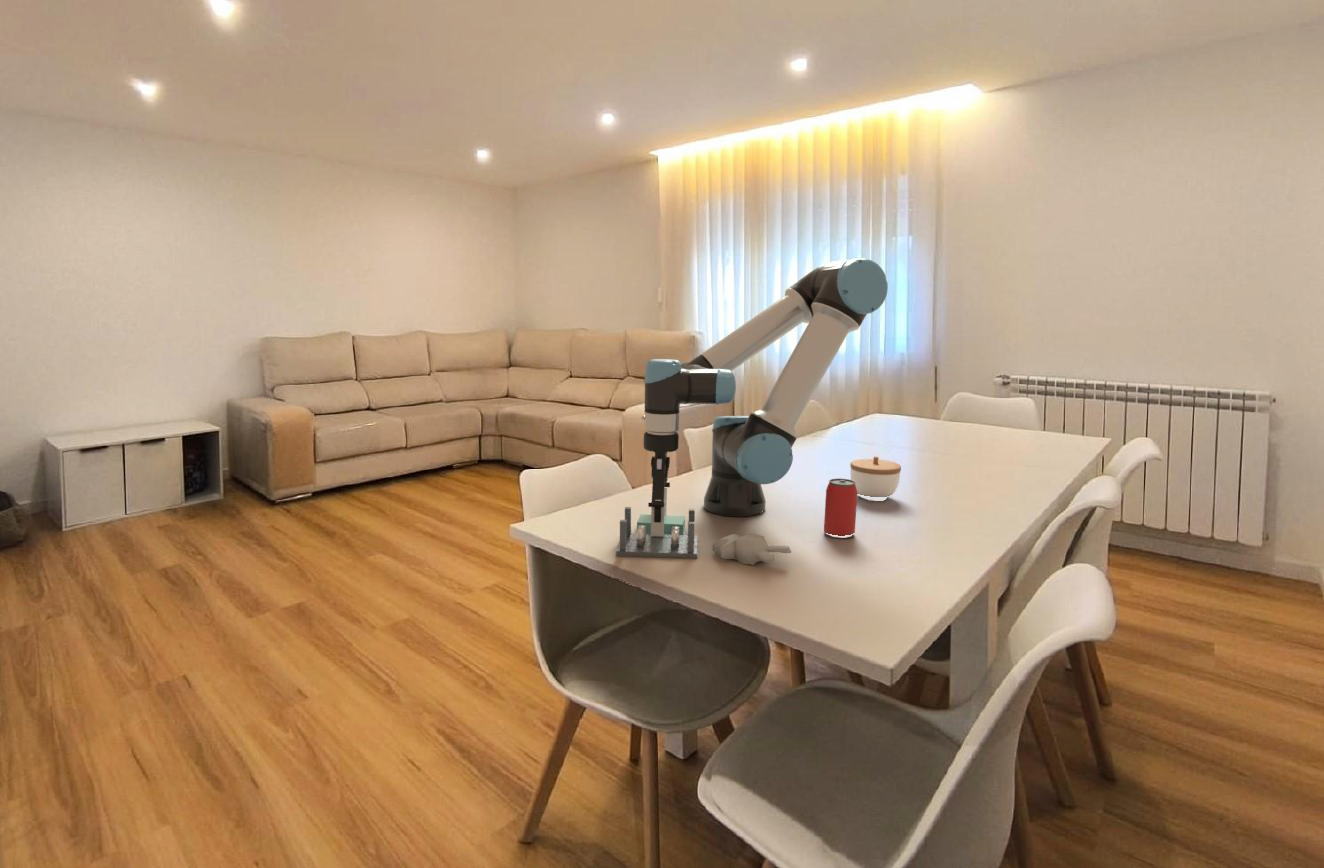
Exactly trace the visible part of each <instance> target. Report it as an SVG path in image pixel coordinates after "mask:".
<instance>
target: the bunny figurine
mask: <svg viewBox="0 0 1324 868" xmlns="http://www.w3.org/2000/svg"><path fill="white" fill-rule="evenodd" d="M711 545H712V551H715V553H716V554H717V556H718V557H720V558H721V559H723V560H724V559H725V560H727V559H728V560H736V561H737V562H738V563H740V564H743V565H749V564H750V565H749V566H754V565H755V564H756V563H758V562H759V561H761V562H765V563H771V562H774V560H775V557H776V554H775V553H778V554H779V553H780V554H790V553H792V551H791V548H790V547H791V546H789V545H769V544H768V542H767V540H766V538H765V536H764V535H761V534H757V533H749V534H747V535H738V534H737V533H732V534H728V535H726V536H723V537H722V538H721V537H720V538H718V539H717V540H715V541H712V542H711Z"/></svg>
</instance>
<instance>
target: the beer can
mask: <svg viewBox="0 0 1324 868" xmlns="http://www.w3.org/2000/svg"><path fill="white" fill-rule="evenodd" d="M855 484H856V483H855V482H854V481H852V480H851V479H847V478H841V477H840V478H831V479H829V480H828V485H827V486H826V489H825V504H824V505H825V506H824V520H823V532H824V534H825V533H828V534H832V535H838V536H845V535H851V534H853V533H856V521H857V520H856V519H857V505H858V494H857V489H856V486H855Z"/></svg>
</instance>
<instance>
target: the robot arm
mask: <svg viewBox="0 0 1324 868" xmlns="http://www.w3.org/2000/svg"><path fill="white" fill-rule="evenodd" d="M888 284H889V283H888V281H887V276H886V273H885V271H884V270H883V269H882V267H881V266H880V265H879V264H877V263H876V261H873V260H871V259H870V258H869V259H868V258H860V257H852V258H849V259H847V260H846V259H845V260H844V259H843V260H836V261H835V260H834V261H829V262H824V263H823V264H821V265H819V266H818V267H817V266H816V268H815V269H813V270H812V271H810V272H809V273H807V274H805V275H804V276H803V277H802V278H801V279H799V280H797V282H795V283H794V284H792V285H791V286H790V287H788V288H787V289H785V291H784V295H783V297H781V298H780V299H778V300H777V301H775V302H774V303H773V304H771V305H770V306H768V307H767V308H765V309H764V310H762V311H761V312H759V313H758V314H757V315H755V316H754V317H752V318H751V319H749V320H748V321H747V322H745V323H744V324H742V325H741V326H739V327H738V328H737V329H735V330H734V331H732V332H731V333H730V334H728V335H726V336H725V337H723V338H722V339H720V340H719V341H717V342H716V343H715V344H713V345H712V346H710V347H709V348H708V349H706V350H704V351H703V352H702V353H700V354H699V355H698V356H697V357H695V358H693V359H692V360H690V361H688V362H683V363H681V361H680V360H677V359H674V358H673V359H672V358H670V359H669V358H666V359H665V358H652V359H649V360H648V361H647V362H646V364H645V372H644V415H641V416H640V419H641V420H642V421H644V424H643V425H644V426H643V428H644V430H645V432H644V433H643V449H644V450H645V451H648V452H654V456H651V459H650V466H651V475H650V476H651V478H652V484H651V485H652V487H651V488H652V489H651V502H648V503H647V504H648V505H647V506H648V508H651V509H650V510H651V513H650V515H651V536H662V537H664V515H667V499H668V488H670V487H671V482H669V481H668V476H669V475H668V473H669V468H670V464H671V463H670V461H671V458H670V457H671V456H668V452H669V453H673V452H676V451H677V450H678V449H679V437H680V436H679V435H680V434H679V433H678V431H679V430H680V416H681V415H680V413H681V412H680V406H681V405H694V404H696V405H722V404H723V405H725V404H730V403H732V401H734V398H735V396H736V390H737V388H736V387H737V382H736V378H735V377H736V376H735V374H734V373H733V372H734V370H736V369H738V368H739V367H740V366H742V365H744V363H746V362H747V361H749V360H751V359H752V358H753V357H755V356H756V355H758V354H759V353H760V352H762V351H764V350H765V349H766V348H767V347H769V346H771V345H772V344H774V343H775V342H776V341H777V340H779V339H780V338H782V337H783V336H785V335H787V334H788V333H789V332H791V331H792V330H794V329H795V328H797V327H798V326H799V325H801V324H802V323H804V324H807V326H806V327H805V330H804V331H803V333H802V335H801V337H800V338H799V340H798V342H797V344H796V345H795V347H794V349H793V350H792V353H791V354H790V356H789V358H788V359H787V362H786V363H785V365H784V367H783V369H782V370H781V372H780V375H779V376H778V377H777V380H776V381H775V383H774V385H773V386H772V388H771V390H770V392H769V394H768V396H767V398H766V400H765V401H764V402H763V405H762V406H761V408H760V409H757V410H754V411H750V412H751V413H750V414H749V415H724V416H716V417H715V418H714V420H713V423H712V424H713V425H712V429H711V433H712V441H711V442H712V446H711V447H712V448H711V454H712V455H711V477H710V480H709V483H708V485H707V488H706V492H705V494H704V497H703V508H704V509H705V510H706V511H708V512H709V513H712V514H714V515H715V514H716V515H719V516H727V517H751V515H752V516H757V515H759V514H758V513H760V514H762V513H763V512H762V511H764V510H765V511H766V497H765V494H764V491H763V487H762V485H769V484H770V485H771V484H774V483H776V482H778V481H779V480H781V479H782V478H784V477H785V476H786V475H787V474H788V472H789V470H790V469H791V466H792V464H793V460H794V455H793V446H794V444H795V442H796V440H797V439H798V435H797V430H796V426H797V425H798V423H799V421H800V419H801V418H802V415H803V414H804V412H805V410H806V409H807V407H808V406H809V404H810V402H811V400H812V398H813V396H814V394H815V393H816V390H817V389H818V387H819V385H821V384H820V383H821V382H822V380H823V378H824V377H825V375H826V373H827V371H828V370H829V367H830V366H831V365H832V363H833V361H834V359H835V357H836V355H837V353H838V352H839V350H840V348H841V346H842V344H843V343H844V341H845V340H846V338H847V335H848V334H849V333H851V332H855V331H857V330H859V329H860V327H861V325H862V323H863V322H864V320H865V318H866V316H867V315H868V314H872V313H874V312H875V311H877V310H878V309H880V307H882V305H883V304H884V303H885V300H886V299H887V295H888V289H889V288H888ZM765 511H764V512H765ZM761 512H762V513H761ZM756 514H757V515H756Z"/></svg>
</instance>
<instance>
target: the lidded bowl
mask: <svg viewBox="0 0 1324 868" xmlns="http://www.w3.org/2000/svg"><path fill="white" fill-rule="evenodd" d="M849 466H850V467H849V468H850V480H852V481H854V482H855V483H856V484H855V486H856V489H857V495H858V494H860V495H864V496H870V497H887V496H890V495H891V496H892V495H894V493H895V492H896V491H897V488H898V486H899V484H900V483H899V482H900V477H901V471H902V466H901V465H900V463H897V462H894V461H890V460H886V459H879V456H875V455H874V456H873V458H859V459H854V460H852V461H850V465H849ZM891 496H890V497H891Z"/></svg>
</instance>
